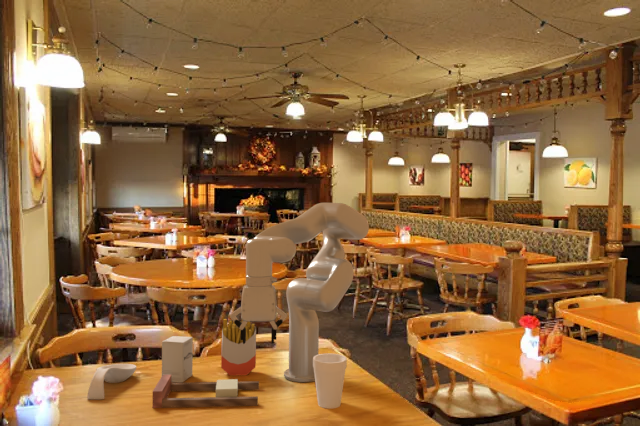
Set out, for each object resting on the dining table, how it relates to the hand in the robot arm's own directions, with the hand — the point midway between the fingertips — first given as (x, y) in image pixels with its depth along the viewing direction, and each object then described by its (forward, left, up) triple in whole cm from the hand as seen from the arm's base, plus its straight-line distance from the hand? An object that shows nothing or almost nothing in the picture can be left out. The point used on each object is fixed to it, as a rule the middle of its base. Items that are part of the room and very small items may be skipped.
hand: (258, 341), depth 159 cm
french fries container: (+7, -21, -16) cm, 27 cm away
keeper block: (+9, 0, -16) cm, 19 cm away
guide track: (+14, 0, -16) cm, 21 cm away
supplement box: (+26, -17, -16) cm, 35 cm away
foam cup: (-20, +7, -16) cm, 27 cm away
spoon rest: (+45, -11, -16) cm, 49 cm away
